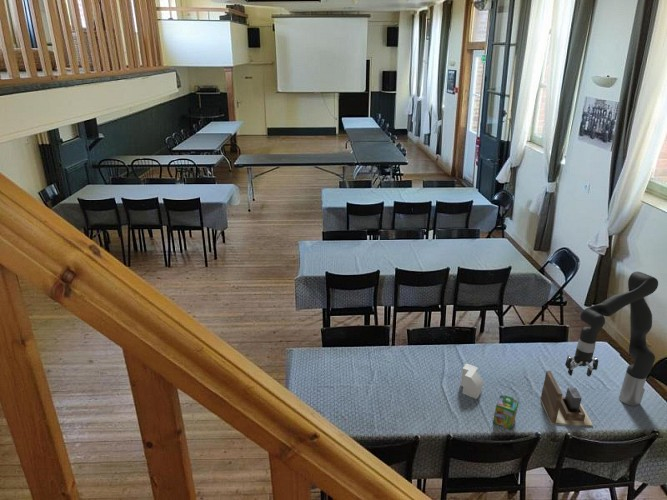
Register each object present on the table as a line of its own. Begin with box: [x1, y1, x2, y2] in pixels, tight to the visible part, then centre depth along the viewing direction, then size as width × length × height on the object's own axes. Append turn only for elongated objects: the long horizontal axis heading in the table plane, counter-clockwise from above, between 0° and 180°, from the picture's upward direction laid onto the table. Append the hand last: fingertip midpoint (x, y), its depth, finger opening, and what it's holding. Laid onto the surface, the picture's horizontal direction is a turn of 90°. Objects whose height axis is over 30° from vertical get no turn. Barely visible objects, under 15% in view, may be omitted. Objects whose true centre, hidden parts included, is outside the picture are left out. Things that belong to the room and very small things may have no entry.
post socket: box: [540, 370, 594, 427], centre depth 246 cm, size 20×18×19 cm
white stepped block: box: [460, 363, 484, 400], centre depth 264 cm, size 11×11×12 cm
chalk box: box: [492, 395, 519, 430], centre depth 241 cm, size 9×9×15 cm
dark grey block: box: [564, 386, 583, 412], centre depth 247 cm, size 4×8×12 cm, turn 175°
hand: (578, 375), depth 240 cm, fingers open, 8 cm apart
